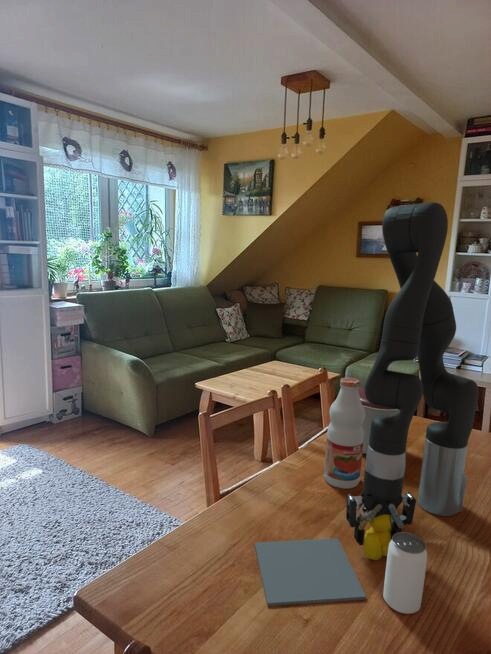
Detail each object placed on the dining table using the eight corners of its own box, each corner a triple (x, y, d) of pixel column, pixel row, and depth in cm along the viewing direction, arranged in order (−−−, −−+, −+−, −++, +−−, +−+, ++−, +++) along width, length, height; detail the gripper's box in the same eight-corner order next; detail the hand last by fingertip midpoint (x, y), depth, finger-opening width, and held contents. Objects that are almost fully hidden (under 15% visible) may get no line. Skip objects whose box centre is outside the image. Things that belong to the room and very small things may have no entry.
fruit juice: (345, 468, 128) (354, 373, 123) (367, 485, 120) (377, 384, 114) (317, 474, 125) (324, 376, 119) (336, 492, 116) (345, 387, 111)
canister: (357, 431, 153) (362, 371, 149) (412, 447, 143) (419, 383, 139) (333, 450, 139) (339, 384, 135) (393, 470, 129) (401, 399, 124)
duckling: (372, 532, 101) (376, 491, 99) (396, 541, 98) (401, 499, 96) (354, 561, 92) (359, 517, 90) (381, 573, 89) (386, 527, 87)
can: (377, 587, 85) (383, 530, 83) (411, 586, 86) (418, 529, 83) (391, 616, 79) (398, 555, 77) (427, 615, 80) (435, 554, 77)
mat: (337, 540, 98) (337, 538, 98) (365, 599, 82) (366, 596, 82) (254, 545, 96) (254, 542, 96) (267, 606, 80) (267, 603, 80)
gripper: (410, 458, 96) (401, 529, 99) (343, 459, 94) (337, 531, 97) (428, 477, 88) (418, 552, 92) (356, 479, 87) (349, 556, 90)
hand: (376, 541), depth 95 cm, fingers closed on duckling, 7 cm apart
